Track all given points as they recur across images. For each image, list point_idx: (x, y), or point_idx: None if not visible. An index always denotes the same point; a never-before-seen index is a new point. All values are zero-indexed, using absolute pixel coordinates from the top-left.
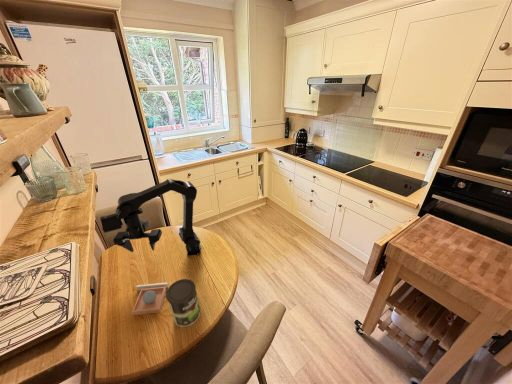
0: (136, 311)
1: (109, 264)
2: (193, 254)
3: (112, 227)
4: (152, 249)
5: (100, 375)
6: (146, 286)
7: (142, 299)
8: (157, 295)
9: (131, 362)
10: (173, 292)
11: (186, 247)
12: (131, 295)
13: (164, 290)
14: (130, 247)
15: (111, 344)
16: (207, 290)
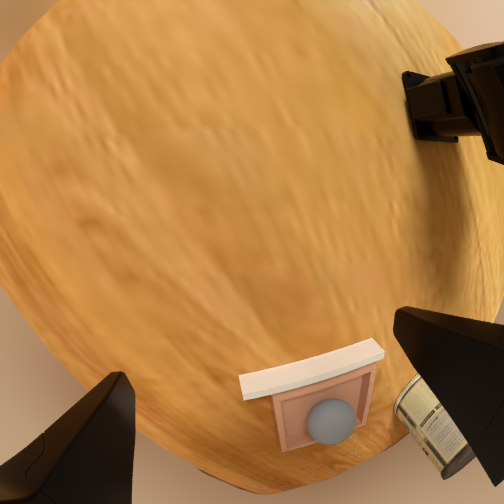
0: (296, 448)
1: None
2: (437, 141)
3: None
4: (412, 357)
5: (270, 493)
6: (293, 386)
7: (288, 409)
8: (341, 385)
9: (319, 475)
10: (461, 463)
11: (440, 115)
12: (225, 399)
13: (374, 378)
14: (114, 466)
15: (258, 476)
16: (469, 318)
